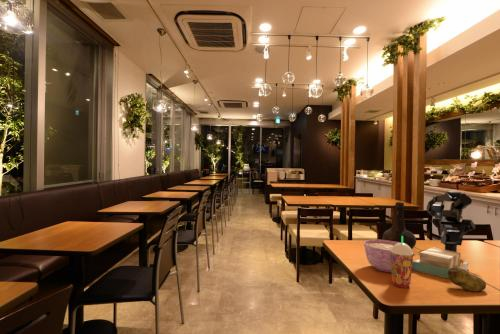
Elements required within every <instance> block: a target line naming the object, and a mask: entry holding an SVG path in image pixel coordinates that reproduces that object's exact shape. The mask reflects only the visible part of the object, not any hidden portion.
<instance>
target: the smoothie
mask: <svg viewBox="0 0 500 334" xmlns="http://www.w3.org/2000/svg"><path fill="white" fill-rule="evenodd" d="M414 255H415V254H414V252H413V249H411V248H410V247H409V246H408V245H407V244H405V243H403V236H401V243H397V244H395V245H394V246H393V248H392V249H391V268H392V272H391V281H392V283H393V285H394V286H396V287H398V288H403V289H407V288H409V287H410V285H411V283H412V282H411V281H412V273H413V272H412V271H413V270H412V262H413V261H414Z"/></svg>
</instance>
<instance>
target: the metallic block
mask: <svg viewBox="0 0 500 334" xmlns="http://www.w3.org/2000/svg"><path fill="white" fill-rule="evenodd" d="M461 255H462V254H461V252H458V251H457V252H454V251H449V250H445V248H444V249H443V248H437V247H434V246H433V247H430V248H428V249H425V250H423V251H420V252H419V259H420V262H421V263H426V264H430V265H435V266H439V267H444V268H448V269H450V268H455V267H457V268H458V267H459V266H461Z"/></svg>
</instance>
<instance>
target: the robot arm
mask: <svg viewBox="0 0 500 334" xmlns="http://www.w3.org/2000/svg"><path fill="white" fill-rule="evenodd" d="M444 202H451V203H450V207H449V209H445V207H446V206H445V204H444ZM436 203H441V204H436ZM472 203H473V200H472V198H471V197H470V196H469V195H467V194H466V193H465V192H464V193H462V192H461V191H451V190H448V191H447V190H446V192H444V194H439V195H433V197H432V199H431V200H429V201H428V203H427V204H426V212H427V213H428V215H430V216H432V217H433V218H432V220H431V223H432V224H433V226H434V227H436V228H437V232H438V238H439V239H440V243H441V244H443V245H444V250H449V251H454V252H458V249H457V248H458V246H462V244H463V240H464V239H463V238H464V236H465V235H466V234H467V233H468V232H471V231H474V230H475V229H476V224H475V223H474V222H473V220H472V219H469V218H468V219H467V218H465V219H463V216H462V215H463V211H464V210H466V208H467V207H469V206H470V205H471V204H472ZM453 226H457V227H453ZM459 226H460V230H459V228H458V227H459Z"/></svg>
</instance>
